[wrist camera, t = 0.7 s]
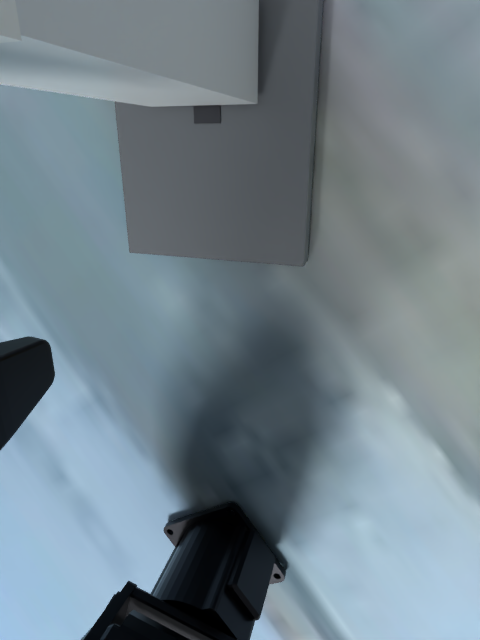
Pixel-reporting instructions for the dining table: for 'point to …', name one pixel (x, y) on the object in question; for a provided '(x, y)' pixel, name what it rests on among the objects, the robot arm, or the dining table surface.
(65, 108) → the dining table surface
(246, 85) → the fader tab
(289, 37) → the console
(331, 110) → the dining table surface
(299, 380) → the dining table surface
